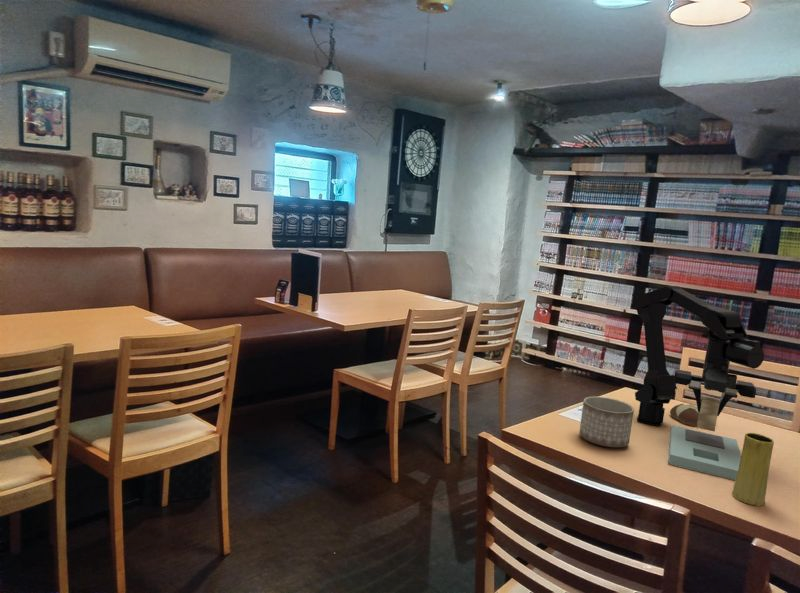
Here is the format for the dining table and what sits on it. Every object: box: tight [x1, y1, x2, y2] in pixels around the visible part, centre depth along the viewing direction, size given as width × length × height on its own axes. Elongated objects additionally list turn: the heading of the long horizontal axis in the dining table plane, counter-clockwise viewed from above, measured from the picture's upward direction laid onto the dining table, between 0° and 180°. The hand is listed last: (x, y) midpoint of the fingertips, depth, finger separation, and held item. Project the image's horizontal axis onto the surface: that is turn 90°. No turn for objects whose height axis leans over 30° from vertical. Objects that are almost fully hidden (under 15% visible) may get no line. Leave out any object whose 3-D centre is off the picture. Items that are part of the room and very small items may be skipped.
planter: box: [578, 395, 635, 448], centre depth 145 cm, size 13×13×10 cm
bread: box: [669, 403, 699, 428], centre depth 167 cm, size 11×11×5 cm
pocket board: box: [668, 424, 742, 481], centre depth 141 cm, size 16×24×3 cm, turn 152°
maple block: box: [696, 395, 720, 432], centre depth 145 cm, size 4×4×8 cm
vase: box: [731, 432, 775, 507], centre depth 118 cm, size 6×6×14 cm
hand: (708, 413), depth 145 cm, fingers closed on maple block, 4 cm apart
